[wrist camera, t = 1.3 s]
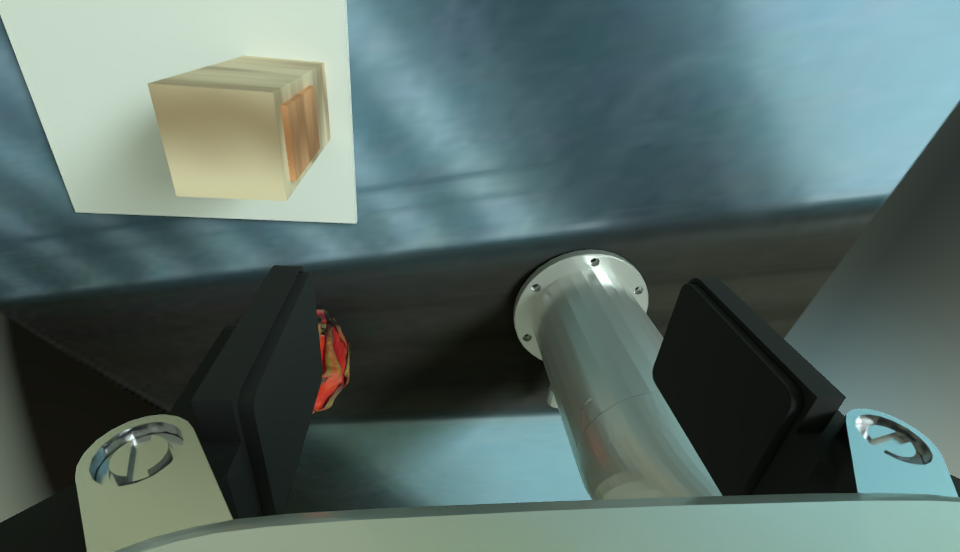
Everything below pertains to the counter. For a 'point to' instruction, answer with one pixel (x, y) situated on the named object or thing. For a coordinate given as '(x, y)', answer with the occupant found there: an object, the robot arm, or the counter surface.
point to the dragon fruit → (331, 360)
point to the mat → (161, 54)
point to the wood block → (243, 126)
